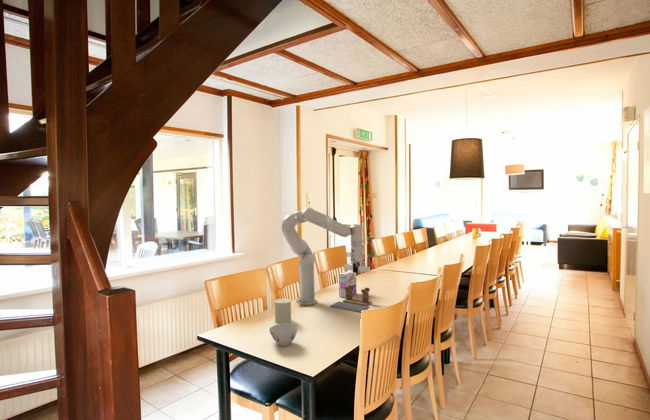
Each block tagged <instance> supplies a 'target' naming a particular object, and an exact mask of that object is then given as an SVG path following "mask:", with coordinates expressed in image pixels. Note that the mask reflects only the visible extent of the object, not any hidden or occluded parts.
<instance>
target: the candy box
mask: <svg viewBox="0 0 650 420" xmlns="http://www.w3.org/2000/svg"><path fill="white" fill-rule="evenodd" d="M338 280H339V281H338V284H339V286H338V288H339V289H338V291H339V294H338V295H339V298H344V299H346V290H345V287H348V285H352V286H353V289H352V296H354V295H357V273H355V272H353V270H346V271H344V272H341V273H340V272H339V274H338Z"/></svg>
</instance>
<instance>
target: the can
mask: <svg viewBox="0 0 650 420" xmlns="http://www.w3.org/2000/svg"><path fill="white" fill-rule="evenodd" d="M274 322H275V323H276V324H277V325H279V324H283V323H288V324H290V323H291V322H292V300H291V299H290V298H278V299H275V300H274Z"/></svg>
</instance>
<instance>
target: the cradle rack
mask: <svg viewBox="0 0 650 420" xmlns="http://www.w3.org/2000/svg"><path fill="white" fill-rule="evenodd" d="M352 289H353V286H352V285H348V287H345V290H346V298H344V299H343V300H342V302H345V303H350V304H356V305H362V306H368V307H369V305H371V304H373V301H371V300H370V298H369V297H370V296H369V294H370V287H364V289H363V288H362V289H360V291H361V294H362V297H361V298H362V299H360V298H354V297H353V295H352Z"/></svg>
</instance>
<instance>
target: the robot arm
mask: <svg viewBox="0 0 650 420" xmlns="http://www.w3.org/2000/svg"><path fill="white" fill-rule="evenodd" d="M306 222H308V223H311V224H313V225H316V226H318V227H320V228H322V229H325V230H327V231H329V232H330V233H333V234H335V235H337V236H340V237H342V238H347V237H349V236H350V247H351V248H350V265H353V270H352V271H353V272H355V273H356V274H357V273H359V272H360V271H358V267H357V265H358V266H362V261H364V248H363V225H362V224H348V223H346V224H345V223H344V224H343V223H342V222H338V221H336V220H335V219H333V218H331V217H330V216H328V215H327V214H324V213H322V212H320V211H318V210H315V209H314V208H312V207H306V208H304V209H301V210H297V211H295V212H292V213H289V214H288V215H286V216H285V217H284V219H283V221H282V222H281V231H282V232H281V233H282V234H283V236H284V238H285V240H286V241H287V243H288V245H289V247H290V249H291V251H292V253H294V254H295V255H296V256H298V258H299V261H298V267H299V269H298V270H299V298H298V299H296V300H295V301H296V303H297V304H299V305H301V306H312V305H316V304H317V303H318V300H317V299H316V298H315V297H316V295H315V263H316V258H315V257H316V256H315V255H314V252H313V251H312V249H311V248H310V246H309V245H308V243H307V241H305V239H303V238H301V237H300V235H299V233H298V231H297V230H296V226H298V225H300V224H303V223H306Z"/></svg>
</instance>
